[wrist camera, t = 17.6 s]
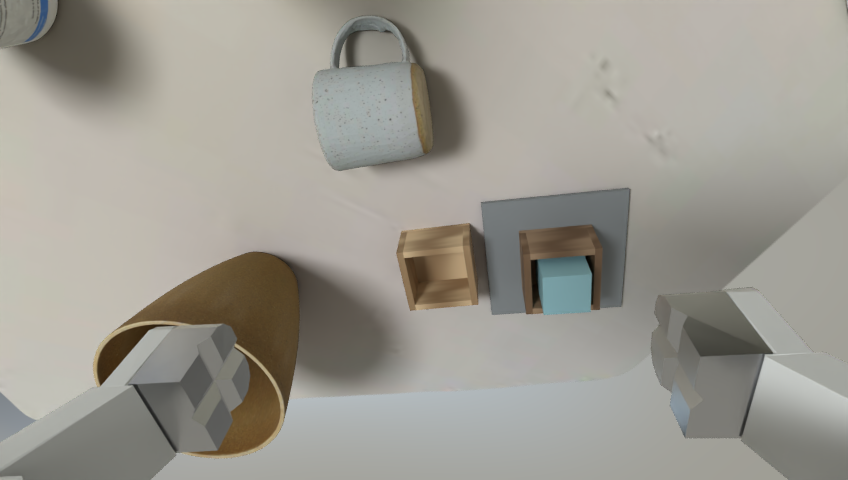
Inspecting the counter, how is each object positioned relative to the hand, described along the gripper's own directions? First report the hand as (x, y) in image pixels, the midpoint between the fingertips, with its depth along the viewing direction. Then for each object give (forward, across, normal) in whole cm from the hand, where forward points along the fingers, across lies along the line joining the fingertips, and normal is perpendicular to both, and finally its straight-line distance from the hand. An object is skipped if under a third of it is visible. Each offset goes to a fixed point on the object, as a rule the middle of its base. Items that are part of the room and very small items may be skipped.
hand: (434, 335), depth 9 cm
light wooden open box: (+33, +4, +19) cm, 39 cm away
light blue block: (+32, -7, +20) cm, 39 cm away
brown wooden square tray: (+33, -7, +20) cm, 39 cm away
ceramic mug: (+33, +7, +2) cm, 34 cm away
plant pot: (+33, +23, +20) cm, 45 cm away
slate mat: (+33, -7, +20) cm, 39 cm away
